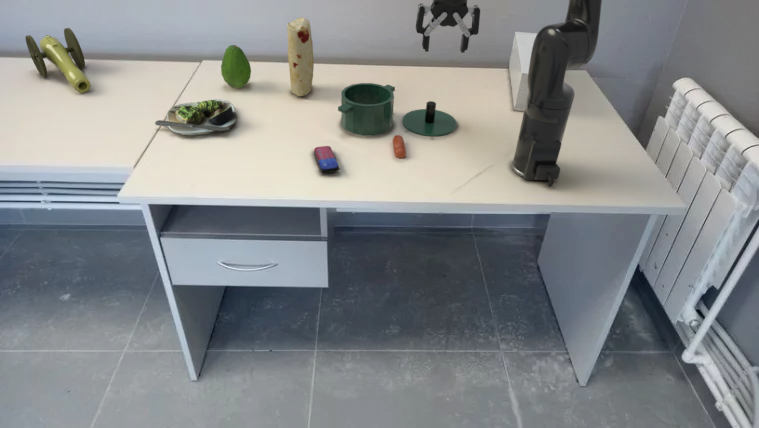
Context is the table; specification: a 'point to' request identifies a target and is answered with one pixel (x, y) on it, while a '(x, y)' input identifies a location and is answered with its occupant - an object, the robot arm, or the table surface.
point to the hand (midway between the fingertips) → (444, 51)
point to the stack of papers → (520, 67)
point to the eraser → (326, 159)
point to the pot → (367, 108)
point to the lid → (429, 121)
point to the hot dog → (399, 146)
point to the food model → (300, 56)
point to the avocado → (235, 67)
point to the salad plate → (201, 117)
